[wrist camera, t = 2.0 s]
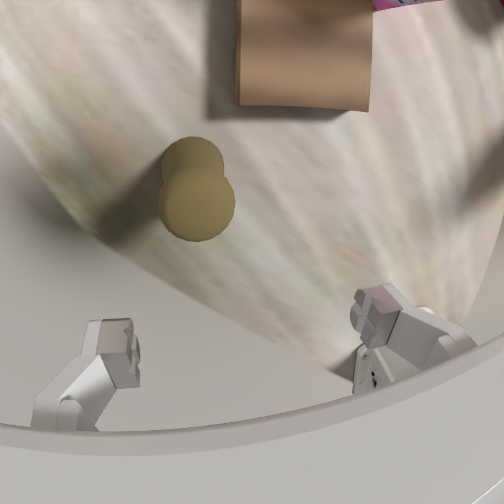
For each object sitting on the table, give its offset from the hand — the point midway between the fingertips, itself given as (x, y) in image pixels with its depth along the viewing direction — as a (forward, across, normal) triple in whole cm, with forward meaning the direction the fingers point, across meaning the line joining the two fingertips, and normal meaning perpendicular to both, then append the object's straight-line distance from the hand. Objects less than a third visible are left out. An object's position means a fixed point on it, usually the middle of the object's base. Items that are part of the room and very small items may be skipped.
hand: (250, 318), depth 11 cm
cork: (+21, +1, +1) cm, 21 cm away
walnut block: (+21, -9, -11) cm, 26 cm away
